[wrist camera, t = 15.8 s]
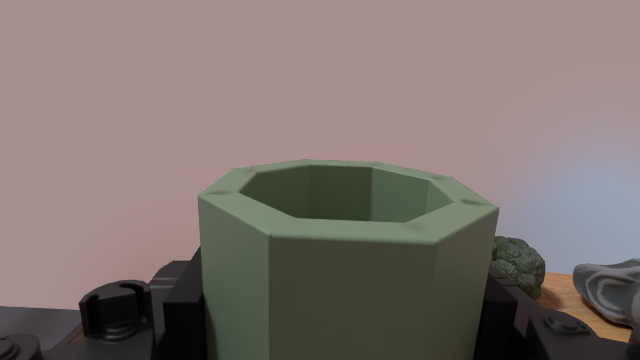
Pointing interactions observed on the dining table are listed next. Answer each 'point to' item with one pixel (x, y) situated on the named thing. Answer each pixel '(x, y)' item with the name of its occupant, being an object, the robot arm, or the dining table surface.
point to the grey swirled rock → (611, 290)
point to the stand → (43, 325)
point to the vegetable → (519, 264)
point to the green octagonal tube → (343, 262)
